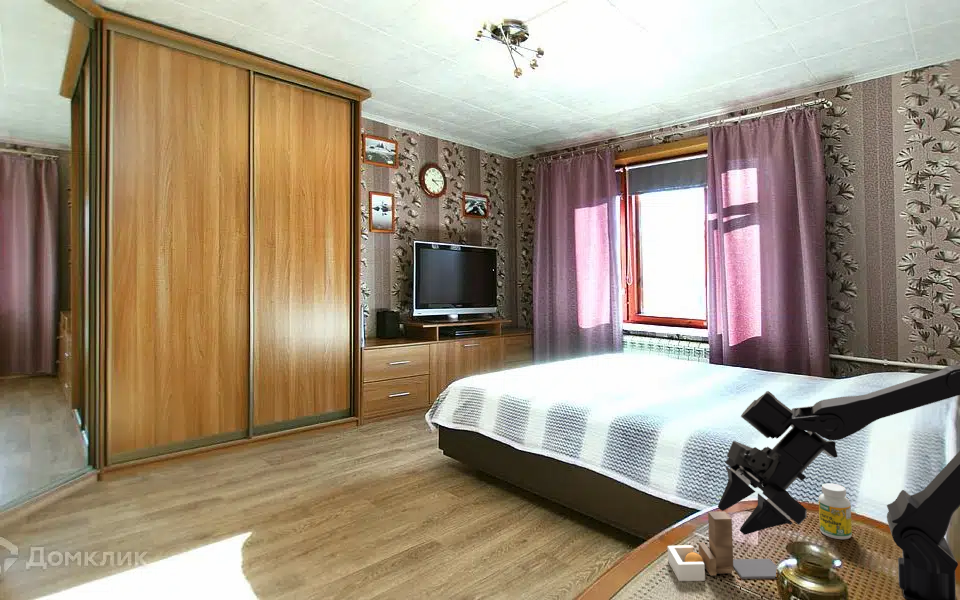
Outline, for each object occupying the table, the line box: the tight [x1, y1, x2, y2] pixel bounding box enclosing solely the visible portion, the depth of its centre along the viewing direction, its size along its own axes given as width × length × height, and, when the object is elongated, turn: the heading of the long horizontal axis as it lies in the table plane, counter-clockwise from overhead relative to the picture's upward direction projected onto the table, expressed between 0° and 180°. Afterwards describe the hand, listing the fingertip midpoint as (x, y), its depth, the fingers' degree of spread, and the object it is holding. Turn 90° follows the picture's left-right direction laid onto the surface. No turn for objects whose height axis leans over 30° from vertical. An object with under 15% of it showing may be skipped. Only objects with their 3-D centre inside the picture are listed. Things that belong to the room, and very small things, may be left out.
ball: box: [685, 551, 704, 563], centre depth 94 cm, size 3×3×3 cm
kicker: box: [698, 510, 735, 576], centre depth 93 cm, size 4×6×10 cm
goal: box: [667, 544, 706, 582], centre depth 94 cm, size 4×6×3 cm
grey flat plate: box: [733, 558, 778, 580], centre depth 93 cm, size 8×6×1 cm
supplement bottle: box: [818, 482, 853, 540], centre depth 104 cm, size 5×5×10 cm
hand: (730, 520), depth 93 cm, fingers open, 9 cm apart
